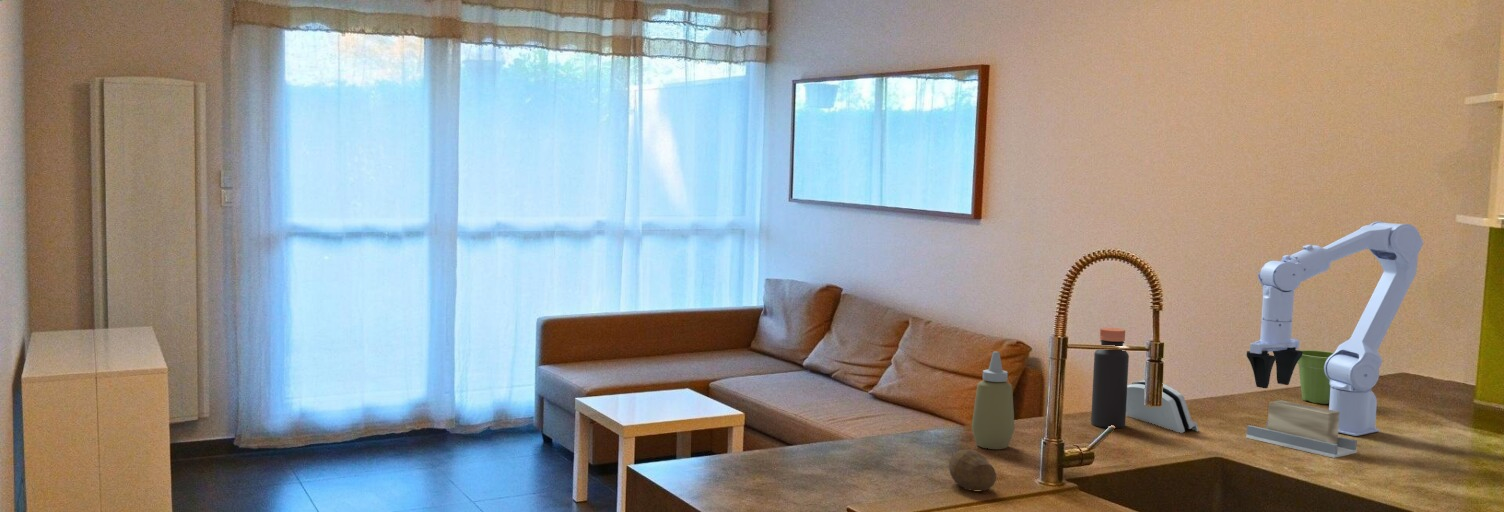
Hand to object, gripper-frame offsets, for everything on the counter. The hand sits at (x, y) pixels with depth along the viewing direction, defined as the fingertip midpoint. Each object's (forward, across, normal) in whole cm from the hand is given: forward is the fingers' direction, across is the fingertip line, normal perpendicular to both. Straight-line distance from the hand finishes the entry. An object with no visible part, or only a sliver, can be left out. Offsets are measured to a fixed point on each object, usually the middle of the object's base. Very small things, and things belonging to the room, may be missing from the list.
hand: (1272, 385), depth 237 cm
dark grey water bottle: (+10, -26, +20) cm, 34 cm away
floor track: (+9, -6, -10) cm, 15 cm away
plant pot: (+10, +40, +12) cm, 43 cm away
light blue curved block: (+10, -15, +16) cm, 24 cm away
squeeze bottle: (+10, -61, +19) cm, 65 cm away
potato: (+10, -85, +1) cm, 86 cm away
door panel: (+9, -6, -10) cm, 15 cm away
